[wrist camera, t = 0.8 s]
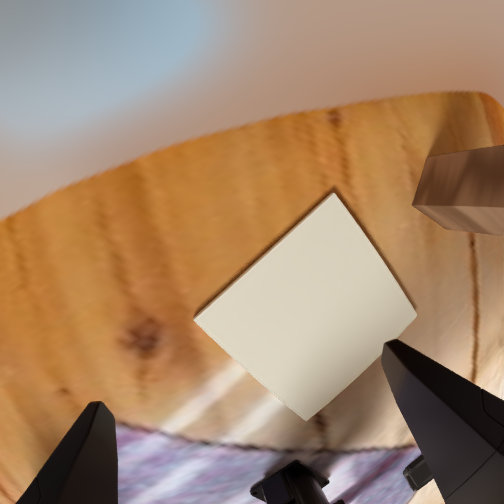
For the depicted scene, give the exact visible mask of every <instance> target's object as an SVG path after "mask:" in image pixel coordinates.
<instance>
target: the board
mask: <svg viewBox="0 0 504 504" xmlns="http://www.w3.org/2000/svg"><path fill="white" fill-rule="evenodd" d="M416 317H417V313H416V312H415V310H414V308H413V307H412V305H411V304H410V302H409V300H408V299H407V297H406V296H405V294H404V292H403V291H402V289H401V288H400V286H399V284H398V283H397V281H396V280H395V278H394V277H393V275H392V274H391V272H390V271H389V269H388V268H387V266H386V265H385V263H384V262H383V260H382V259H381V257H380V256H379V254H378V253H377V251H376V250H375V248H374V247H373V245H372V244H371V242H370V241H369V240H368V238H367V237H366V235H365V234H364V232H363V231H362V230H361V228H360V227H359V225H358V224H357V223H356V221H355V220H354V219H353V217H352V216H351V214H350V213H349V212H348V210H347V209H346V208H345V206H344V205H343V204H342V202H341V201H340V200H339V198H338V197H337V196H336V194H335V193H330V194H329V195H328V196H327V197H326V198H325V199H324V200H323V201H322V202H321V203H320V204H318V205H317V206H316V207H315V208H314V209H313V210H312V211H311V212H310V213H309V214H308V215H306V216H305V217H304V218H303V219H302V220H301V221H300V222H299V223H298V224H297V225H295V226H294V227H293V228H292V229H291V230H290V231H289V232H288V233H287V234H286V235H284V236H283V237H282V238H281V239H280V240H279V241H278V242H277V243H276V244H275V245H273V246H272V247H271V248H270V249H269V250H268V251H267V252H266V253H265V254H263V255H262V256H261V257H260V258H259V259H258V260H257V261H256V262H255V263H254V264H252V265H251V266H250V267H249V268H248V269H247V270H246V271H245V272H244V273H242V274H241V275H240V276H239V277H238V278H237V279H236V280H235V281H234V282H232V283H231V284H230V285H229V286H228V287H227V288H226V289H225V290H224V291H222V292H221V293H220V294H219V295H218V296H217V297H216V298H215V299H214V300H212V301H211V302H210V303H209V304H208V305H207V306H206V307H205V308H203V309H202V310H201V311H200V312H199V313H198V314H197V315H196V316H195V317H193V320H194V321H195V322H196V323H197V324H198V325H199V326H200V327H201V328H202V329H203V330H204V331H205V332H206V333H207V334H208V335H209V336H210V337H211V338H212V339H213V340H214V341H215V342H216V343H217V344H219V345H220V346H221V347H222V348H223V349H224V350H225V351H226V352H227V353H228V354H229V355H230V356H231V357H232V358H233V359H234V360H236V361H237V362H238V363H239V364H240V365H241V366H242V367H243V368H244V369H245V370H246V371H248V372H249V373H250V374H251V375H252V376H253V377H254V378H255V379H257V380H258V381H259V382H260V383H261V384H262V385H263V386H264V387H266V388H267V389H268V390H269V391H270V392H271V393H272V394H274V395H275V396H276V397H277V398H278V399H279V400H281V401H282V402H283V403H284V404H285V405H287V406H288V407H289V408H290V409H291V410H292V411H294V412H295V413H296V414H297V415H298V416H300V417H301V418H302V419H303V420H305V421H307V420H309V419H310V418H311V417H312V416H314V415H315V414H316V413H317V412H318V411H320V410H321V409H322V408H323V407H324V406H326V405H327V404H328V403H329V402H330V401H331V400H333V399H334V398H335V397H336V396H337V395H338V394H339V393H341V392H342V391H343V390H344V389H345V388H346V387H347V386H348V385H349V384H351V383H352V382H353V381H354V380H355V379H356V378H357V377H358V376H359V375H360V374H361V373H362V372H363V371H365V370H366V369H367V368H368V367H369V366H370V365H371V364H372V363H373V362H374V361H375V360H376V359H377V358H378V357H379V356H380V355H381V354H382V351H383V345H384V343H385V342H387V341H389V340H392V339H396V338H397V337H398V336H399V335H400V334H401V333H402V332H403V331H404V330H405V329H406V328H407V327H408V325H409V324H410V323H411V322H412V321H413V320H414V319H415V318H416Z"/></svg>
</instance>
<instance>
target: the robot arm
mask: <svg viewBox="0 0 504 504" xmlns="http://www.w3.org/2000/svg"><path fill="white" fill-rule="evenodd" d="M381 363H382V367H383V369H384V372H385V374H386V377H387V380H388V382H389V385H390V387H391V390H392V393H393V395H394V398H395V400H396V403H397V405H398V407H399V409H400V411H401V413H402V415H403V417H404V419H405V421H406V423H407V425H408V427H409V429H410V431H411V433H412V435H413V437H414V439H415V441H416V443H417V445H418V447H419V449H420V451H421V453H422V455H423V457H424V459H425V461H426V463H427V465H428V467H429V469H430V471H431V473H432V475H433V478H434V480H435V482H436V484H437V486H438V488H439V490H440V493H441V495H442V497H443V499H444V502H445V504H504V400H502V399H500V398H498V397H496V396H494V395H493V394H491V393H489V392H487V391H486V390H484V389H481V388H480V387H479V386H477V385H475V384H473V383H472V382H470V381H468V380H467V379H465V378H463V377H461V376H460V375H458V374H456V373H455V372H453V371H451V370H449V369H448V368H446V367H444V366H443V365H441V364H439V363H437V362H436V361H434V360H432V359H431V358H429V357H427V356H426V355H424V354H422V353H420V352H419V351H417V350H415V349H414V348H412V347H410V346H408V345H407V344H405V343H403V342H402V341H400V340H398V339H392V340H389V341H387V342H385V343H384V345H383V351H382V357H381ZM328 484H329V480H328V478H326V477H324V476H323V475H321V474H320V473H318V472H316V471H315V470H313V469H312V468H310V467H308V466H307V465H305V464H304V463H302V462H301V461H299V460H296V461H293V462H292V463H290V464H289V465H287V466H286V467H285V468H283V469H282V470H280V471H279V472H277V473H276V474H274V475H273V476H271V477H270V478H268V479H267V480H265V481H264V482H262V483H260V484H259V485H257V486H256V487H254V488H252V489H251V490H250V493H251V495H252V496H254V497H256V498H258V499H260V500H262V501H264V502H266V504H329V502H328V500H327V498H326V496H325V494H324V493H323V491H322V488H323V487H325V486H326V485H328ZM15 504H118V456H117V443H116V428H115V418H114V416H113V414H112V413H111V412H110V410H109V409H108V408H107V407H106V405H105V404H104V403H103V402H102V401H92V402H90V403H89V404H88V405H87V406H86V408H85V409H84V411H83V412H82V413H81V415H80V416H79V417H78V419H77V420H76V421H75V423H74V424H73V425H72V427H71V428H70V429H69V431H68V432H67V434H66V435H65V436H64V438H63V439H62V440H61V442H60V443H59V445H58V446H57V447H56V449H55V450H54V452H53V453H52V454H51V456H50V457H49V459H48V460H47V461H46V463H45V464H44V466H43V467H42V468H41V470H40V471H39V473H38V474H37V477H35V478H34V480H33V481H32V483H31V484H30V485H29V487H28V488H27V490H26V491H25V492H24V494H23V495H22V496H21V497H20V499H19V500H18V501H17V502H16V503H15ZM334 504H345V503H344V501H343V500H342V499H340V500H338V501H337V502H336V503H334Z"/></svg>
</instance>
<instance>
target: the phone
mask: <svg viewBox="0 0 504 504" xmlns="http://www.w3.org/2000/svg"><path fill="white" fill-rule="evenodd" d="M403 475H404V477H405V479H406V480H407V482H408V484H409V486H410V488H411V489H412V490H413V491H417V490H419V489H421V488H422V487H423V486H425V485H426V484H427V483H428V482H430V481H431V480H432V479H433V475H432V473H431V471H430V469H429V467H428V465H427V463H426V461H425V459H424V457H423V455H421V456H420V457H419V458H417V459H416V460H415V461H414V462H412V463H411V464H410V465H408V466H407V467H406V468H405V470H404V471H403Z"/></svg>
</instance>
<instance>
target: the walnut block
mask: <svg viewBox="0 0 504 504" xmlns="http://www.w3.org/2000/svg"><path fill="white" fill-rule="evenodd" d="M412 206H413V207H415V208H416V209H418V210H419V211H421V212H422V213H424V214H425V215H427V216H428V217H429V218H431V219H432V220H434V221H435V222H437V223H438V224H439V225H441V226H442V227H443V228H445V229H448V230H457V231H466V232H475V233H483V234H491V235H499V236H504V145H501V146H494V147H487V148H480V149H474V150H467V151H461V152H455V153H449V154H443V155H437V156H432V157H427V159H426V162H425V166H424V169H423V172H422V176H421V179H420V182H419V185H418V188H417V192H416V195H415V198H414V201H413V204H412Z"/></svg>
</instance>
